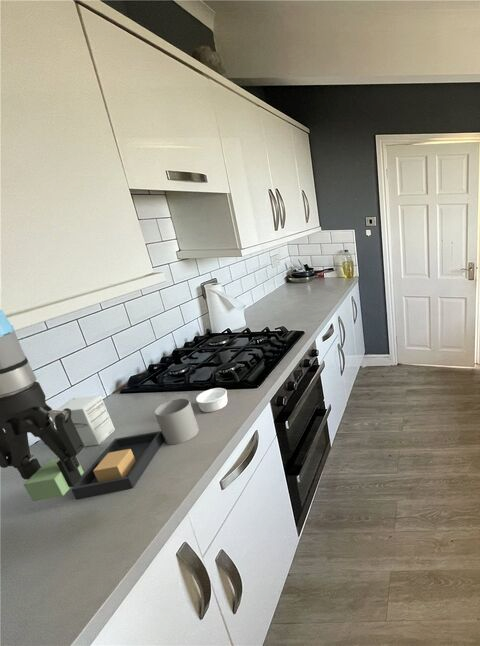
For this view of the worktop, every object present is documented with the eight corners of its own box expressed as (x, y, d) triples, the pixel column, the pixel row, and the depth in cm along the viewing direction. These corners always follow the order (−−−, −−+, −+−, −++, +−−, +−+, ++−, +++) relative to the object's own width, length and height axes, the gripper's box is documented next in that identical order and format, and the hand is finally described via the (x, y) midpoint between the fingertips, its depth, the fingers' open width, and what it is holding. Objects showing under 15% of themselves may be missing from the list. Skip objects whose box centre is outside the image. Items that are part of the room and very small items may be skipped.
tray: (76, 499, 82) (70, 489, 81) (118, 447, 99) (114, 438, 98) (133, 488, 85) (129, 478, 84) (165, 439, 102) (162, 430, 101)
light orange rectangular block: (99, 485, 85) (92, 470, 84) (114, 466, 91) (108, 452, 90) (123, 480, 87) (117, 466, 85) (136, 462, 92) (130, 448, 91)
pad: (32, 501, 69) (23, 484, 67) (56, 477, 75) (47, 460, 73) (63, 495, 70) (54, 478, 69) (84, 472, 76) (76, 456, 75)
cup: (195, 422, 109) (187, 395, 105) (201, 434, 103) (192, 406, 100) (163, 434, 104) (152, 406, 100) (167, 448, 98) (156, 419, 94)
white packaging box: (70, 449, 99) (51, 411, 94) (89, 432, 106) (73, 396, 101) (99, 445, 100) (82, 408, 95) (116, 429, 107) (101, 394, 102)
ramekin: (235, 399, 120) (232, 389, 119) (215, 415, 112) (211, 403, 111) (214, 397, 122) (211, 386, 121) (192, 412, 114) (189, 400, 113)
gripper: (80, 372, 70) (119, 463, 78) (-35, 386, 65) (20, 480, 74) (53, 392, 63) (99, 489, 71) (-77, 408, 59) (-12, 510, 67)
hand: (59, 484), depth 73 cm, fingers closed on pad, 5 cm apart
